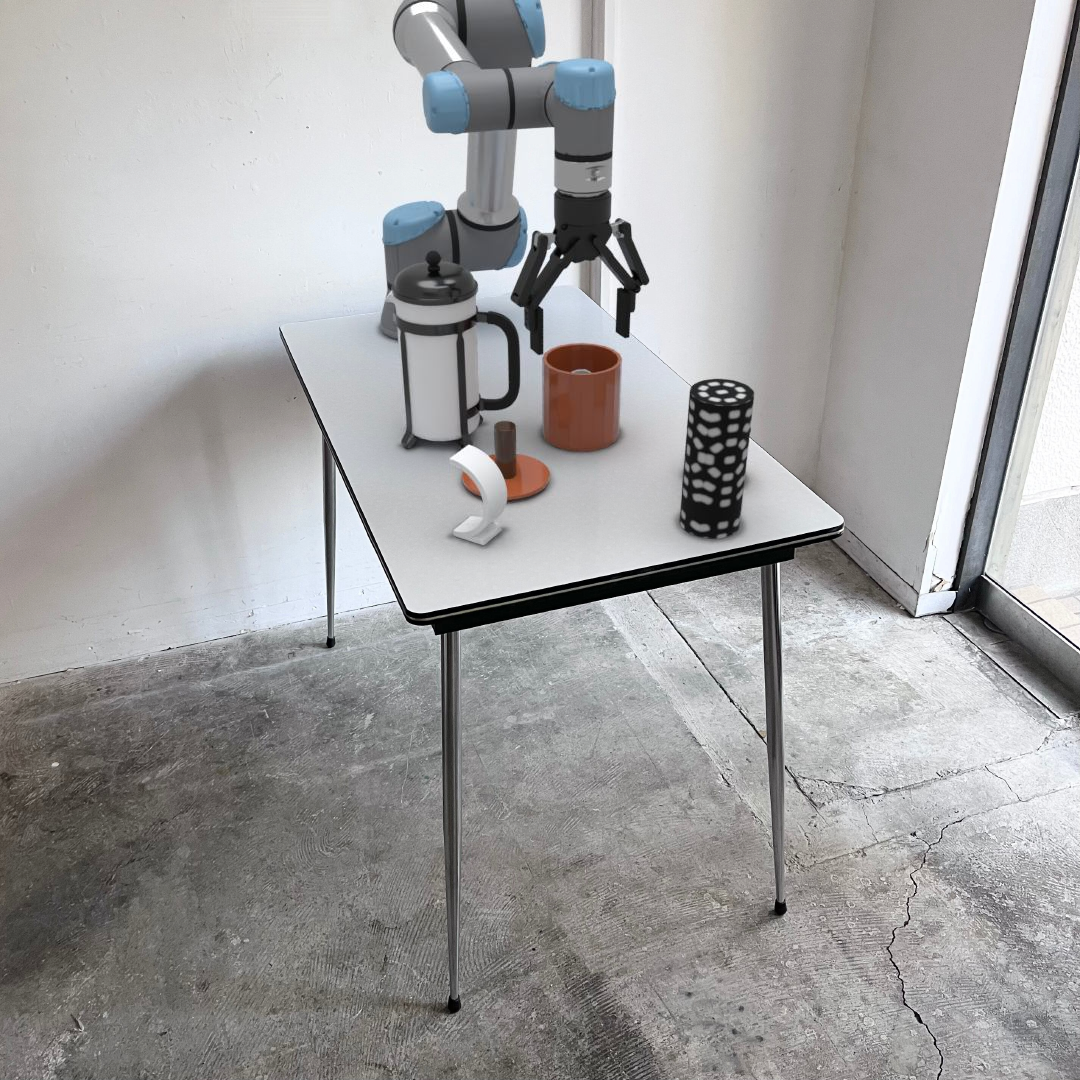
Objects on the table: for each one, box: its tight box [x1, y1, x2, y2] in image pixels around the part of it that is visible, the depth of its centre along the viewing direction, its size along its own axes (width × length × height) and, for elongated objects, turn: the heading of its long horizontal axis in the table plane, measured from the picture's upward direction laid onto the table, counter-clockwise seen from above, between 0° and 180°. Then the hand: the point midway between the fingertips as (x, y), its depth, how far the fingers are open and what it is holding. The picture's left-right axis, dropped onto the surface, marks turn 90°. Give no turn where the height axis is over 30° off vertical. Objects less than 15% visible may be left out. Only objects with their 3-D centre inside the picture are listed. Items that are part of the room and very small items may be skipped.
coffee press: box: [384, 251, 521, 450], centre depth 167 cm, size 17×16×30 cm
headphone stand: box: [448, 445, 508, 546], centre depth 147 cm, size 5×6×12 cm
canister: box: [541, 342, 623, 452], centre depth 172 cm, size 12×12×13 cm
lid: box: [461, 420, 551, 501], centre depth 160 cm, size 13×13×9 cm
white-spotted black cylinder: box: [679, 378, 755, 540], centre depth 147 cm, size 8×8×20 cm
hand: (580, 343), depth 153 cm, fingers open, 13 cm apart
